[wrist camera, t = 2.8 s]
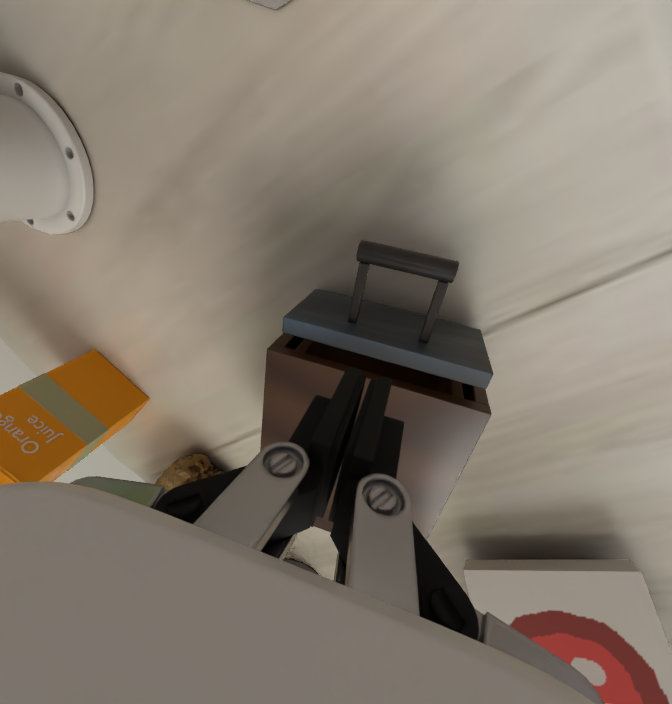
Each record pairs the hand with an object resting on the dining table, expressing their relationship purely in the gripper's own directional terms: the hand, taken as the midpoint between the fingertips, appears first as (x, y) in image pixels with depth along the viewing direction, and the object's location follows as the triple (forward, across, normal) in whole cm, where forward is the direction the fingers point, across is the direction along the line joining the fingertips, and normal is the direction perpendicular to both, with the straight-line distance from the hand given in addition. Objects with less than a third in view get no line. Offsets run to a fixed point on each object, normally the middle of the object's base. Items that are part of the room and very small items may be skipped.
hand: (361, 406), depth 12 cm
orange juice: (+17, +33, +22) cm, 43 cm away
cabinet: (+17, 0, +12) cm, 21 cm away
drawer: (+16, 0, +7) cm, 17 cm away
